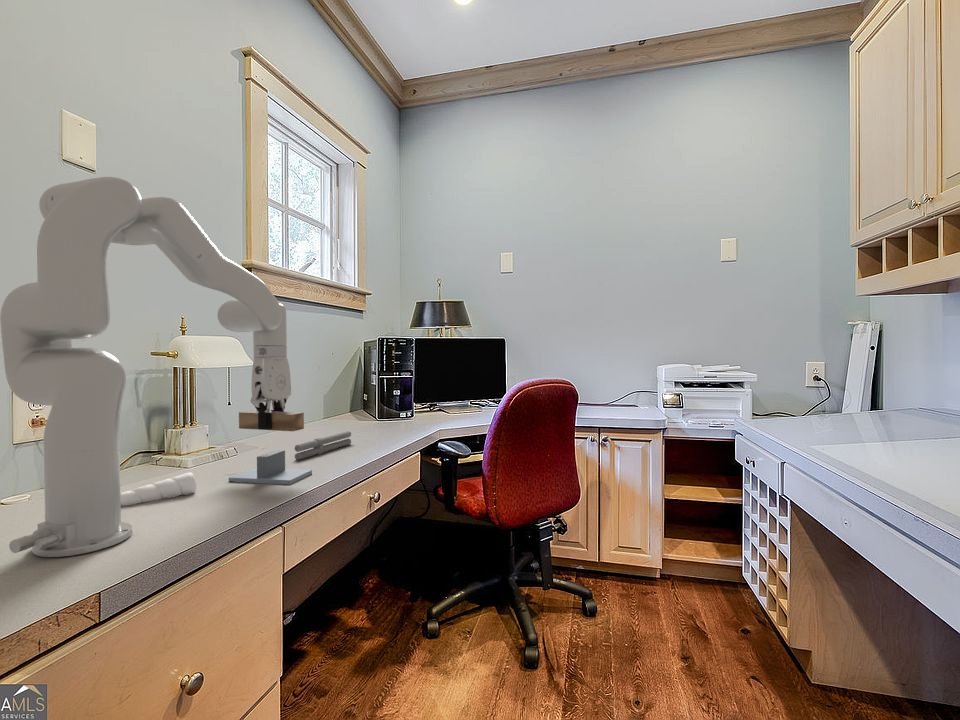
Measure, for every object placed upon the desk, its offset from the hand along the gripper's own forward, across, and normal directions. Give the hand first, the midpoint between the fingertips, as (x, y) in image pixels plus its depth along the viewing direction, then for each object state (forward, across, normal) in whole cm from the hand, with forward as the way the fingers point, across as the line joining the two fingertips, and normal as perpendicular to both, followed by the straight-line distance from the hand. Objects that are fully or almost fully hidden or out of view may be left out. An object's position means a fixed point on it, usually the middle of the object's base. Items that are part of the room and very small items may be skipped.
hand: (271, 426), depth 119 cm
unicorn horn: (+13, -23, +16) cm, 31 cm away
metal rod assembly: (+13, +31, +2) cm, 34 cm away
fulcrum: (+13, 0, 0) cm, 13 cm away
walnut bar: (0, 0, 0) cm, 0 cm away
